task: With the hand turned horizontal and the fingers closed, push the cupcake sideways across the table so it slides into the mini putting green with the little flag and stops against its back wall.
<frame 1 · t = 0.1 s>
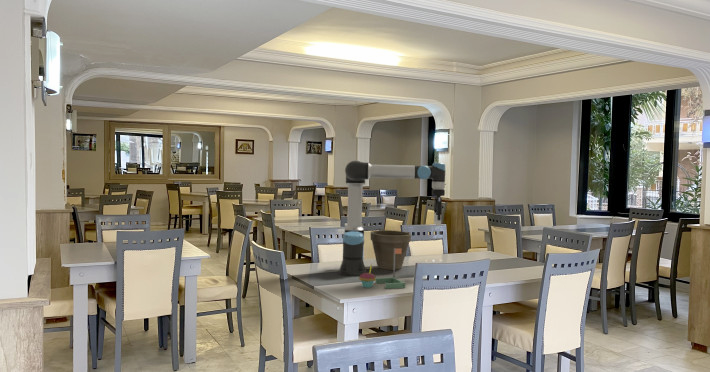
hand: (437, 224, 332), 28 cm above the table, tool pointing down, fingers open, 13 cm apart
cupcake: (367, 287, 287), on the table
mini putting green: (386, 285, 291), on the table
plant pot: (389, 268, 342), on the table
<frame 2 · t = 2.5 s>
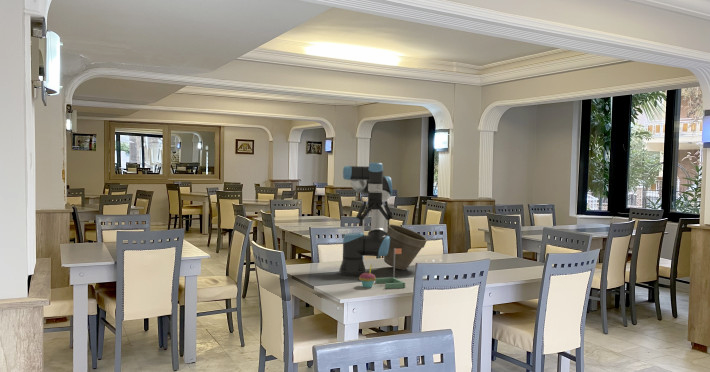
hand: (374, 232, 297), 27 cm above the table, tool pointing down, fingers open, 13 cm apart
plant pot: (395, 265, 339), point 2 cm above the table, touching arm
everything else where it was.
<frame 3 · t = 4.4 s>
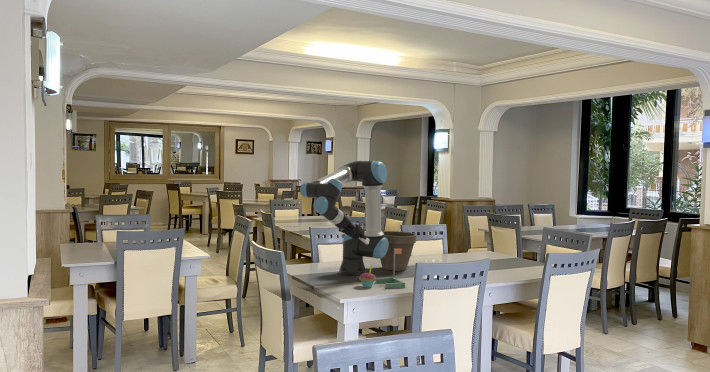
hand: (368, 242, 291), 22 cm above the table, tool tilted 55°, fingers closed
plant pot: (394, 269, 339), on the table
everything else where it was.
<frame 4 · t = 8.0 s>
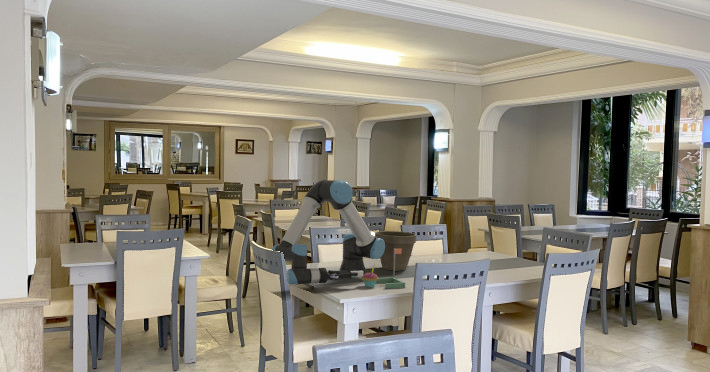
hand: (362, 273, 285), 7 cm above the table, tool horizontal, fingers closed
cupcake: (369, 286, 287), on the table, touching gripper
everything else where it was.
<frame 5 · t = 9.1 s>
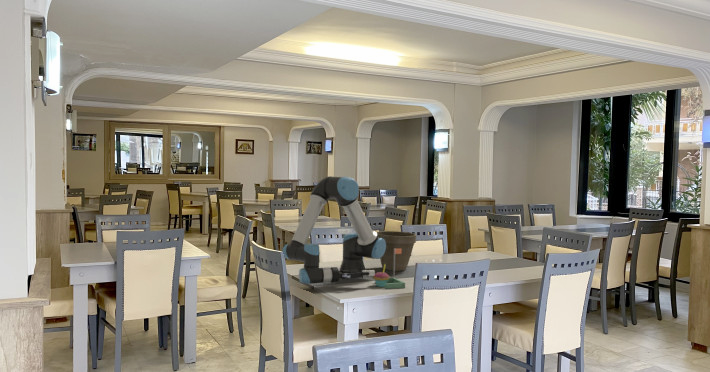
hand: (374, 272, 288), 7 cm above the table, tool horizontal, fingers closed
cupcake: (380, 286, 290), on the table, touching gripper
everything else where it was.
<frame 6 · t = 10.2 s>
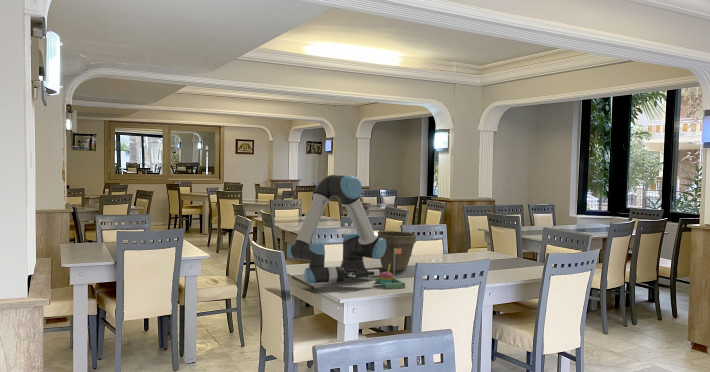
hand: (378, 272, 289), 7 cm above the table, tool horizontal, fingers closed
cupcake: (385, 285, 291), on the table, touching gripper
everything else where it was.
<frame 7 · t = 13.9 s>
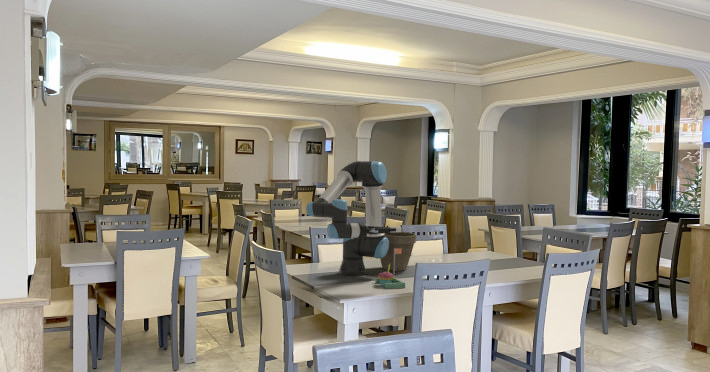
hand: (400, 229, 290), 29 cm above the table, tool horizontal, fingers closed
cupcake: (385, 285, 291), on the table
everything else where it was.
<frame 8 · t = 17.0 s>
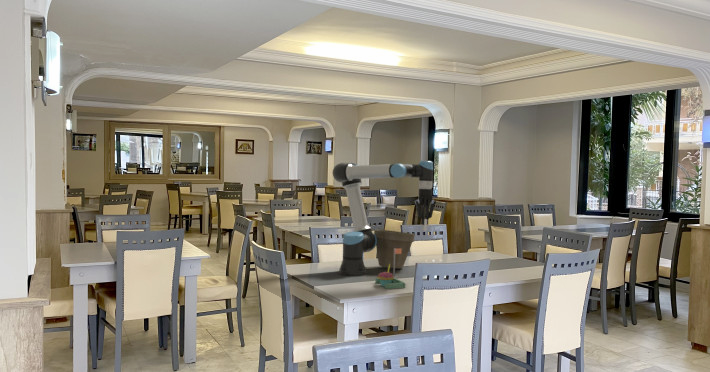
hand: (424, 230, 314), 26 cm above the table, tool pointing down, fingers closed
plant pot: (391, 267, 341), point 1 cm above the table, touching arm
everything else where it was.
at the end: cupcake 0.5 cm from the mini putting green (horizontally); cupcake tilted 0° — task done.
